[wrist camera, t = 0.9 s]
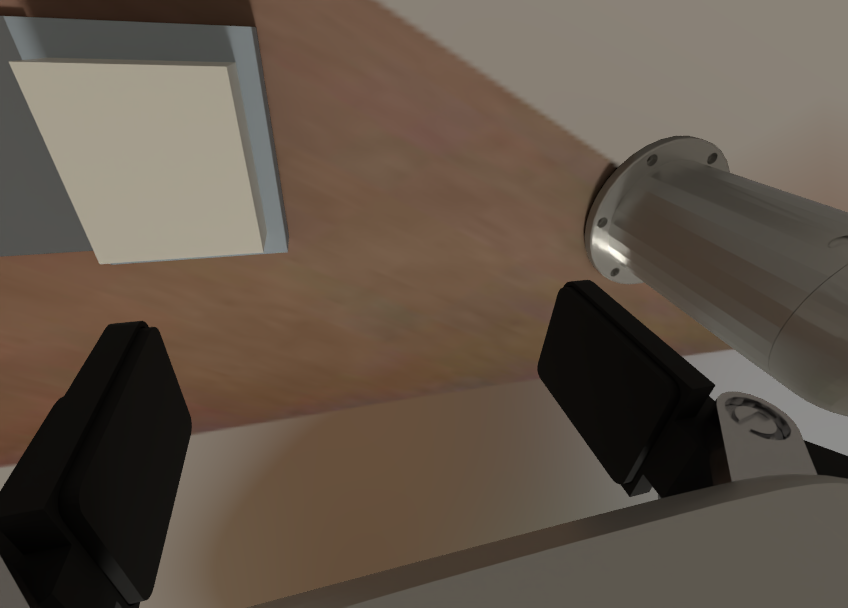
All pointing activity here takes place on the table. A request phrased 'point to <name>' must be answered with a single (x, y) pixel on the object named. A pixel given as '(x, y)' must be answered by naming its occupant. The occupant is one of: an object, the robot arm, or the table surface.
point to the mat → (30, 176)
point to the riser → (174, 45)
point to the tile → (150, 154)
